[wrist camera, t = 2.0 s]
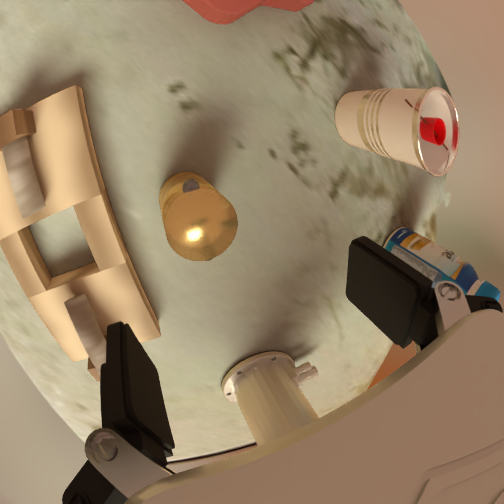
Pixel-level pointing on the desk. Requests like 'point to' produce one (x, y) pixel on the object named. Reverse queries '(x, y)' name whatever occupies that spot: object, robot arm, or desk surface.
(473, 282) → the blue supplement bottle
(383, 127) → the striped cup with float
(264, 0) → the plaque
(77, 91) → the shaft jig
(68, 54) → the desk surface
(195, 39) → the desk surface
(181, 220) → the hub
